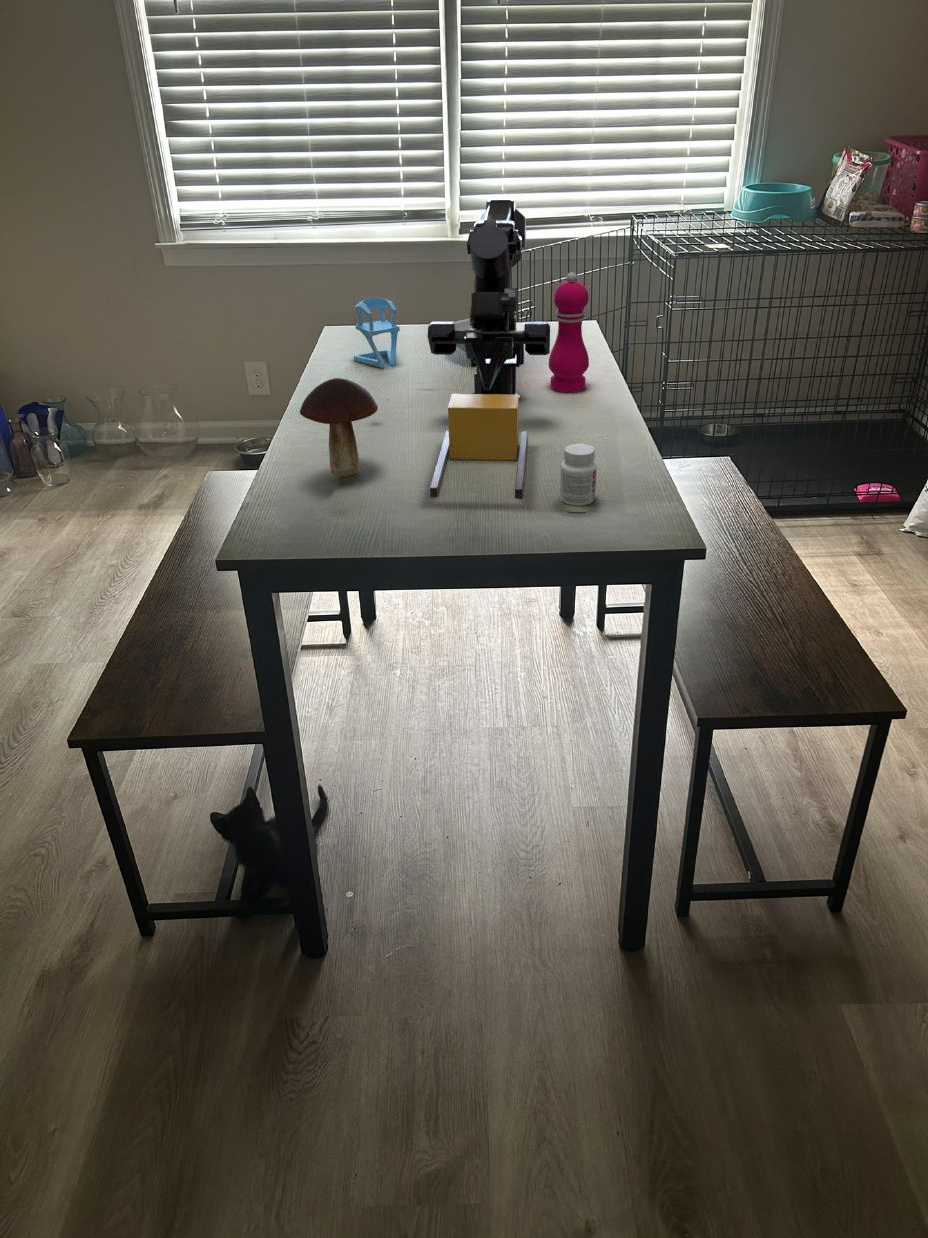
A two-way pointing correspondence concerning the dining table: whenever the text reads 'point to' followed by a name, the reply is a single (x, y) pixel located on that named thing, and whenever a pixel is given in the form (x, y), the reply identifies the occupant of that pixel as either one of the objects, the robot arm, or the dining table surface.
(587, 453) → the pill bottle
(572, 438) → the dining table surface
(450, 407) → the ochre block
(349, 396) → the decorative mushroom
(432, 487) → the maple track
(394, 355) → the chair
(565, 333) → the pepper mill
